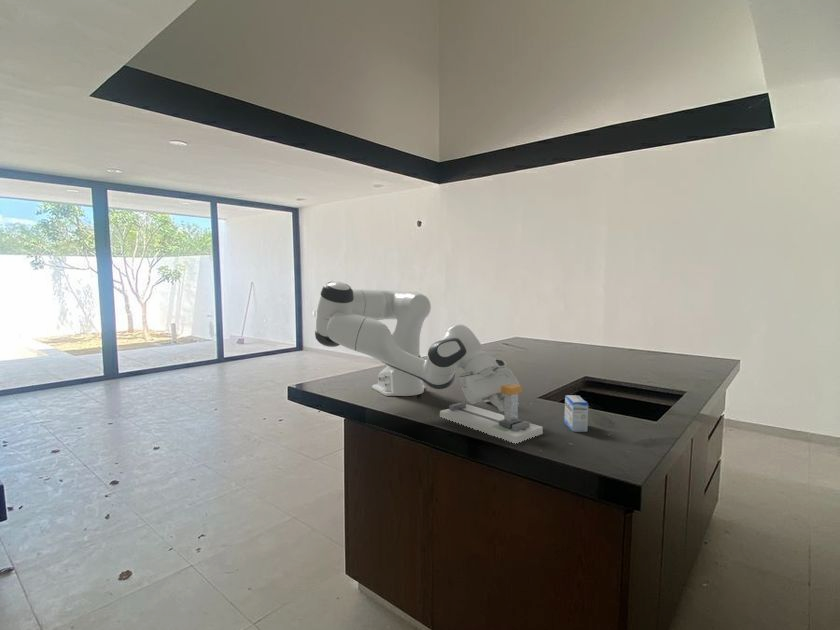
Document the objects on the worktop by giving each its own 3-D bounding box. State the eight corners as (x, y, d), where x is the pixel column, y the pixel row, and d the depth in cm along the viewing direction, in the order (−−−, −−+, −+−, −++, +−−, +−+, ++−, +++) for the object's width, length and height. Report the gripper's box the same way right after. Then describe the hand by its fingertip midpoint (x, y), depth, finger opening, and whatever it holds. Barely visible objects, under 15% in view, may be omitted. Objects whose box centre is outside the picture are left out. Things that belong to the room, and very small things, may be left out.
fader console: (439, 417, 139) (439, 406, 139) (466, 409, 147) (466, 399, 147) (515, 444, 116) (515, 431, 116) (542, 433, 124) (542, 421, 124)
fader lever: (499, 425, 125) (499, 386, 124) (511, 420, 128) (512, 383, 127) (510, 428, 122) (510, 388, 121) (522, 424, 125) (523, 385, 124)
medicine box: (563, 423, 133) (564, 394, 133) (578, 423, 133) (579, 394, 132) (572, 432, 125) (572, 402, 125) (587, 432, 125) (588, 402, 125)
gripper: (461, 368, 124) (486, 410, 117) (508, 360, 137) (533, 397, 130) (450, 381, 128) (474, 422, 121) (497, 371, 141) (521, 408, 134)
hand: (505, 409), depth 126 cm, fingers closed, pressing on fader lever
